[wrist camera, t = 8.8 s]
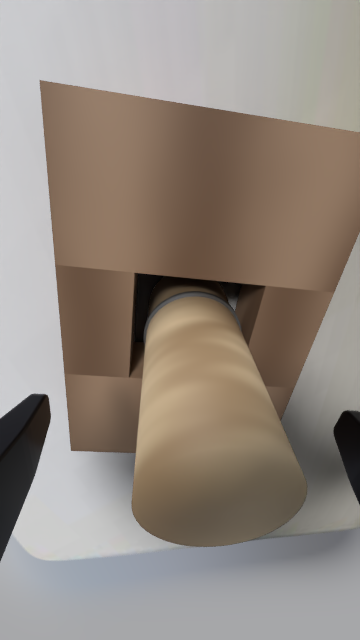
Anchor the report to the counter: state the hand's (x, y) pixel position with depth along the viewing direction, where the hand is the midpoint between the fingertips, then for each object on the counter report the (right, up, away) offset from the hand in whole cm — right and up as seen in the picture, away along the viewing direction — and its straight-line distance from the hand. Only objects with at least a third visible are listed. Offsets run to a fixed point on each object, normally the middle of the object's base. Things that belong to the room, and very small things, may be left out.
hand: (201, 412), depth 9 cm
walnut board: (0, +4, +6) cm, 7 cm away
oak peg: (0, +4, +6) cm, 7 cm away
